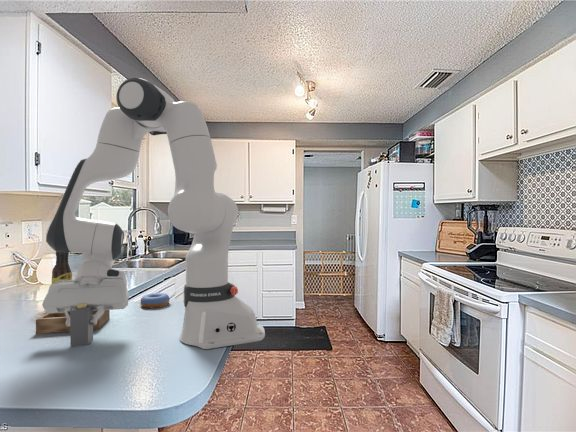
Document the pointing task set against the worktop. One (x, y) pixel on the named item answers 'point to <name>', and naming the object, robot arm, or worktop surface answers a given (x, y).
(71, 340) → the push button
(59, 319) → the caddy
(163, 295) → the doughnut
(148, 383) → the worktop surface
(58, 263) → the sauce bottle
